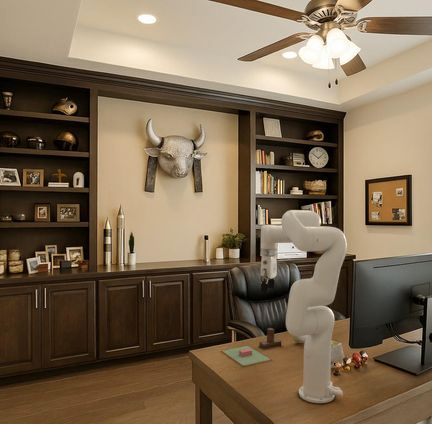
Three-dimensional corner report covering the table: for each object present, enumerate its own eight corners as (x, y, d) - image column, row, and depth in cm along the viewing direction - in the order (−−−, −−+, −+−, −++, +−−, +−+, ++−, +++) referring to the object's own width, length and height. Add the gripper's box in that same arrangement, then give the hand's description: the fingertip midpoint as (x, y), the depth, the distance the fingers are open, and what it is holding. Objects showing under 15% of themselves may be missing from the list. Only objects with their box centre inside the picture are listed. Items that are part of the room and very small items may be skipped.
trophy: (291, 327, 192) (331, 345, 166) (303, 325, 196) (344, 343, 169) (291, 344, 192) (331, 365, 166) (303, 342, 195) (344, 361, 169)
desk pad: (271, 360, 170) (271, 359, 170) (243, 366, 162) (243, 365, 162) (247, 346, 187) (247, 345, 187) (221, 351, 179) (221, 350, 179)
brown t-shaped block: (259, 347, 186) (259, 329, 186) (276, 343, 191) (276, 326, 191) (263, 349, 183) (264, 331, 183) (281, 346, 188) (281, 328, 188)
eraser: (239, 354, 174) (239, 350, 174) (248, 352, 177) (248, 348, 177) (242, 357, 172) (242, 352, 172) (252, 355, 174) (252, 350, 174)
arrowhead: (331, 370, 160) (331, 346, 160) (327, 368, 162) (327, 344, 162) (346, 366, 164) (346, 343, 164) (342, 364, 166) (342, 341, 166)
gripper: (270, 255, 165) (269, 295, 165) (282, 251, 181) (281, 287, 182) (254, 254, 168) (253, 293, 168) (266, 250, 184) (265, 286, 184)
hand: (267, 290), depth 175 cm, fingers open, 9 cm apart
